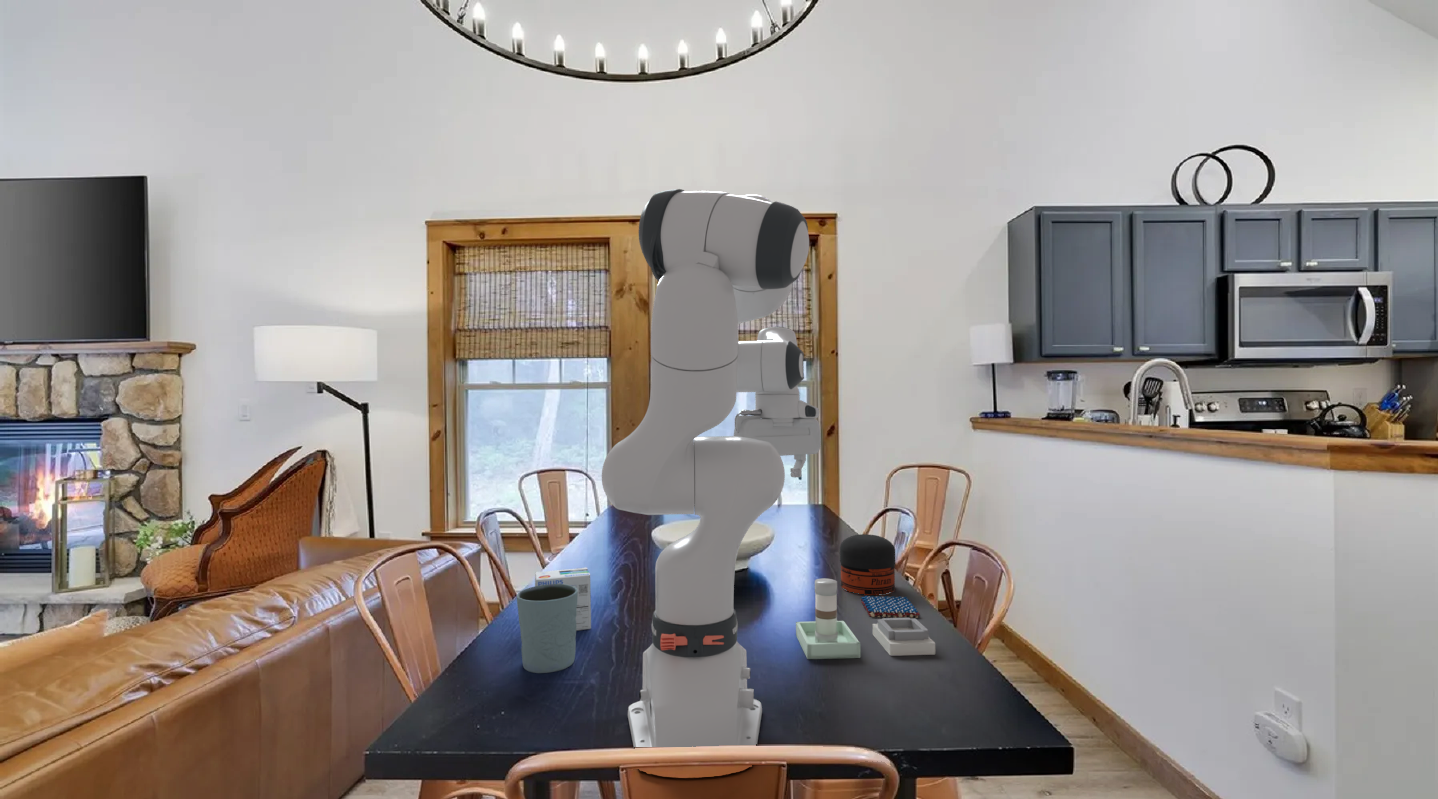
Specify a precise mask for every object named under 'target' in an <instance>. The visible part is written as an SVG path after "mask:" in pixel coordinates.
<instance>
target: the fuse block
mask: <svg viewBox="0 0 1438 799" xmlns="http://www.w3.org/2000/svg"><path fill="white" fill-rule="evenodd" d="M929 632H930V631H929V629H928V628H927V627H926V626H924V625H923V624H922V623H921V622H920V621H919V620H918V618H916V617H915V618H914V617H913V618H910V617H902V618H900V617H897V618H894V617H883V618H879V619H878V618H877V623H872V635H873V637H874V638H875V639H876V640H877V642H878V643H879V644H880V646H881V647H882V648H883V650H885V652H887V654H888V655H889V656H892V657H893V656H923V655H924V656H926V655H927V656H928V655H932V656H933V655H936V642H935V641H934V640H933V639H931V637H930V635H929Z"/></svg>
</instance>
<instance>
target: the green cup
mask: <svg viewBox="0 0 1438 799" xmlns="http://www.w3.org/2000/svg"><path fill="white" fill-rule="evenodd" d="M577 598H578V589H577V588H576V587H574V586H571V585H566V584H548V585H540V586H535V585H534V586H532V587H529V588H526V589H522V590H521V591H519V592H518V593H517V594H516V605H517V611H518V612H517V613H518V623H519V629H520V632H519V633H520V640H521V649H520V650H521V657H522V658H521V660H522V666H523V668H524V670H526V671H528V672H530V673H534V674H535V673H536V674H549V673H553V672H559V671H563V670H565V669H567V668H568V667H570V666H572V665H573V664H574V662H575V658H576V646H577V642H576V641H577V640H576V637H577V630H576V616H577V612H576V609H577Z"/></svg>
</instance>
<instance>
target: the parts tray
mask: <svg viewBox="0 0 1438 799" xmlns="http://www.w3.org/2000/svg"><path fill="white" fill-rule="evenodd" d="M815 630H816V620H814V621H795V636H796V638H797V640H798V642H799V644H800V647H801V649H802V651H803V653H804V655H805V656H806V659H807V660H833V659H861V642H860V641H859V640H858V638H857V637H856V635H855V634H854V633H853V631H852V630H851V629H850V627H849V626H848V625H847V623H846V622H845V621H844V620H837V632H838V642H837V643H815Z"/></svg>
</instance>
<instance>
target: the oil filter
mask: <svg viewBox="0 0 1438 799" xmlns="http://www.w3.org/2000/svg"><path fill="white" fill-rule="evenodd" d="M839 563H840V588H841V587H842V588H844V589H846V590H847V591H849V592H848V593H850V592H854V593H859V594H864V595H863V596H867V595H879V594H886V593H889V592H893V591H894V590H895V588H896V583H895V582H896V581H895V580H896V576H895V575H896V574H895V572H896V570H895V566H896V548H895V545H894V544H893V543H892V542H891V541H889V540H888V539H887V538H886V537H882V536H880V535H876V534H868V533H865V534H862V533H861V534H860V533H859V534H855V535H850V536H847V537H846V538H844V539H843V540H842V542H841V543H840V545H839ZM842 588H841V589H842ZM847 591H846V592H847ZM895 591H896V590H895ZM895 591H894V592H895ZM894 592H893V593H894Z"/></svg>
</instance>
